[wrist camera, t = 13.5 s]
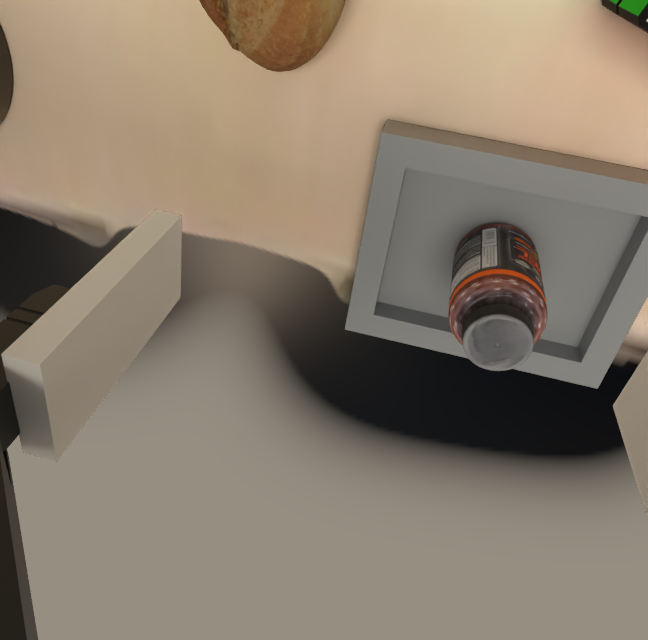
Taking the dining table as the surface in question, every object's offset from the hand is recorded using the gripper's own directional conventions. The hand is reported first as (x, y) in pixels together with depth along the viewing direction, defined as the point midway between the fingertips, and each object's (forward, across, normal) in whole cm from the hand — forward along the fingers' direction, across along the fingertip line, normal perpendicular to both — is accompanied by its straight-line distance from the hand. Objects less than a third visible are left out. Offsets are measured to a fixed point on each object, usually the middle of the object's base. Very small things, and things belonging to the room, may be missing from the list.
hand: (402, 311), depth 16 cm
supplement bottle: (+26, +7, -10) cm, 29 cm away
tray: (+27, +8, -10) cm, 30 cm away
